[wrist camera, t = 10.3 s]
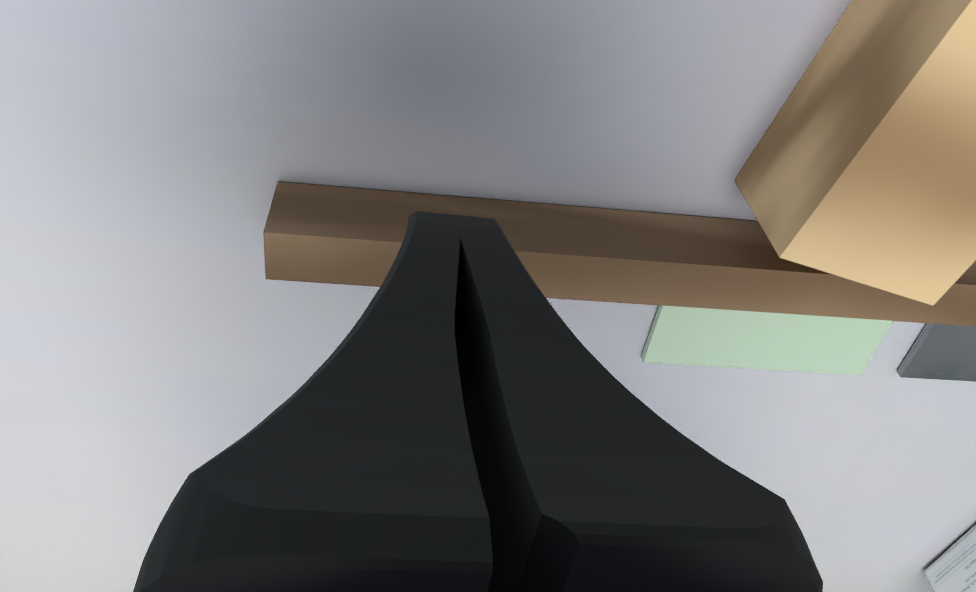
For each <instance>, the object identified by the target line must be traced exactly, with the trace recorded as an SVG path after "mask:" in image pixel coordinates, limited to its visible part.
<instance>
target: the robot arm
mask: <svg viewBox="0 0 976 592" xmlns="http://www.w3.org/2000/svg"><path fill="white" fill-rule="evenodd" d="M822 589H823V581H822V579H821V576H820V574H819V572H818V569H817V567H816V565H815V562H814V560H813V558H812V555H811V553H810V550H809V548H808V545H807V543H806V541H805V538H804V536H803V534H802V532H801V530H800V528H799V526H798V524H797V522H796V520H795V518H794V516H793V515H792V513H791V511H790V509H789V507H788V505H787V503H786V501H785V499H783V498H781V497H780V496H778V495H776V494H775V493H773V492H771V491H770V490H768V489H766V488H765V487H763V486H761V485H760V484H758V483H756V482H755V481H753V480H751V479H750V478H748V477H746V476H745V475H743V474H741V473H740V472H738V471H736V470H735V469H733V468H731V467H730V466H728V465H726V464H725V463H723V462H721V461H720V460H718V459H717V458H715V457H714V456H712V455H711V454H710V453H708V452H707V451H705V450H704V449H702V448H701V447H700V446H698V445H697V444H695V443H694V442H693V441H691V440H690V439H688V438H687V437H685V436H684V435H683V434H681V433H680V432H679V431H677V430H676V429H675V428H673V427H672V426H671V425H669V424H668V423H667V422H666V421H664V420H663V419H662V418H660V417H659V416H658V415H657V414H656V413H654V412H653V411H652V410H651V409H650V408H648V407H647V406H646V405H645V404H644V403H642V402H641V401H640V400H639V399H638V398H637V397H635V396H634V395H633V394H632V393H631V392H630V391H628V390H627V389H626V388H625V387H624V386H623V385H622V384H621V383H620V382H619V381H618V380H616V379H615V378H614V377H613V376H612V375H611V374H610V373H609V372H608V371H607V370H606V369H605V368H604V367H603V366H602V365H601V364H600V362H599V361H598V360H597V359H596V358H595V357H594V356H593V355H592V354H591V353H590V352H589V351H588V350H587V349H586V348H585V347H584V346H583V345H582V344H581V342H580V341H579V340H578V339H577V338H576V336H575V335H574V334H573V333H572V332H571V330H570V329H569V328H568V327H567V325H566V324H565V323H564V322H563V320H562V319H561V318H560V317H559V315H558V314H557V313H556V311H555V310H554V309H553V307H552V306H551V305H550V303H549V302H548V300H547V299H546V298H545V296H544V295H543V293H542V292H541V290H540V289H539V288H538V286H537V285H536V283H535V282H534V280H533V279H532V277H531V276H530V274H529V273H528V271H527V270H526V268H525V267H524V265H523V263H522V262H521V260H520V259H519V257H518V256H517V254H516V252H515V251H514V249H513V247H512V246H511V244H510V242H509V240H508V239H507V237H506V235H505V234H504V232H503V230H502V228H501V226H500V225H499V224H498V222H497V221H496V220H495V219H493V218H482V217H472V216H462V215H452V214H442V213H431V212H421V211H416V212H414V213H413V214H411V215H410V216H409V217H408V224H407V230H406V234H405V237H404V239H403V242H402V245H401V247H400V249H399V252H398V254H397V256H396V259H395V261H394V262H393V264H392V266H391V268H390V270H389V272H388V274H387V276H386V278H385V279H384V281H383V283H382V285H381V287H380V288H379V290H378V292H377V293H376V295H375V296H374V298H373V299H372V301H371V302H370V304H369V305H368V307H367V308H366V310H365V311H364V313H363V315H362V316H361V318H360V319H359V320H358V322H357V323H356V324H355V326H354V327H353V329H352V330H351V331H350V333H349V334H348V335H347V336H346V338H345V339H344V340H343V341H342V343H341V344H340V345H339V346H338V347H337V349H336V350H335V351H334V352H333V353H332V355H331V356H330V357H329V358H328V359H327V360H326V361H325V362H324V363H323V364H322V366H321V367H320V368H319V369H318V370H317V371H316V372H315V373H314V374H313V375H312V376H311V377H310V378H309V379H308V380H307V382H305V383H304V384H303V385H302V386H301V387H300V388H299V389H298V390H297V391H296V392H295V393H294V394H293V395H292V396H291V397H290V398H289V399H288V400H286V401H285V402H284V403H283V404H282V405H281V406H279V407H278V408H277V409H276V410H275V411H274V412H272V413H271V414H270V415H269V416H268V417H267V418H265V419H264V420H263V421H262V422H261V423H260V424H258V425H257V426H256V427H255V428H254V429H252V430H251V431H250V432H249V433H247V434H246V435H245V436H243V437H242V438H241V439H239V440H238V441H237V442H235V443H234V444H232V445H231V446H229V447H228V448H227V449H225V450H224V451H222V452H221V453H219V454H218V455H217V456H215V457H214V458H212V459H211V460H209V461H208V462H207V463H205V464H204V465H202V466H201V467H199V468H198V469H196V470H195V471H193V472H192V473H190V474H189V476H188V477H187V479H186V480H185V482H184V484H183V485H182V487H181V488H180V490H179V492H178V493H177V495H176V497H175V498H174V500H173V502H172V503H171V505H170V507H169V509H168V510H167V512H166V514H165V516H164V518H163V519H162V521H161V523H160V525H159V527H158V529H157V531H156V533H155V535H154V538H153V540H152V542H151V544H150V546H149V548H148V551H147V553H146V555H145V557H144V560H143V562H142V566H141V569H140V572H139V575H138V578H137V581H136V584H135V588H134V591H133V592H822Z"/></svg>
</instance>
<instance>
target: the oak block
mask: <svg viewBox="0 0 976 592" xmlns="http://www.w3.org/2000/svg"><path fill="white" fill-rule="evenodd" d="M734 181H735V182H736V184H737V186H738V187H739V189H740V191H741V192H742V194H743V196H744V198H745V199H746V201H747V203H748V204H749V206H750V208H751V210H752V211H753V213H754V215H755V216H756V218H757V220H758V222H759V223H760V225H761V227H762V228H763V230H764V232H765V234H766V235H767V237H768V239H769V240H770V242H771V244H772V246H773V247H774V249H775V251H776V252H777V254H778V256H779V258H783V259H786V260H789V261H792V262H795V263H798V264H802V265H805V266H808V267H811V268H814V269H818V270H821V271H824V272H827V273H830V274H834V275H837V276H840V277H843V278H846V279H850V280H853V281H856V282H859V283H862V284H866V285H869V286H872V287H875V288H878V289H881V290H885V291H888V292H891V293H894V294H897V295H901V296H904V297H907V298H910V299H913V300H917V301H920V302H923V303H926V304H929V305H934V304H935V303H936V302H937V301H938V300H939V299H940V298H941V297H942V296H943V295H944V294H945V293H946V292H947V290H948V289H949V288H950V287H951V286H952V285H953V284H954V283H955V282H956V281H957V280H958V279H959V278H960V277H961V275H962V274H963V273H964V272H965V271H966V270H967V269H968V268H969V267H970V266H971V265H972V264H973V263H974V262H975V260H976V0H852V1H851V3H850V4H849V6H848V7H847V9H846V10H845V12H844V13H843V15H842V16H841V18H840V19H839V21H838V23H837V24H836V26H835V27H834V29H833V30H832V32H831V33H830V35H829V36H828V38H827V39H826V41H825V42H824V44H823V45H822V47H821V49H820V50H819V52H818V53H817V55H816V56H815V58H814V59H813V61H812V62H811V64H810V65H809V67H808V68H807V70H806V71H805V73H804V75H803V76H802V78H801V79H800V81H799V82H798V84H797V85H796V87H795V88H794V90H793V91H792V93H791V94H790V96H789V97H788V99H787V100H786V102H785V104H784V105H783V107H782V108H781V110H780V111H779V113H778V114H777V116H776V117H775V119H774V120H773V122H772V123H771V125H770V126H769V128H768V130H767V131H766V133H765V134H764V136H763V137H762V139H761V140H760V142H759V143H758V145H757V146H756V148H755V149H754V151H753V152H752V154H751V156H750V157H749V159H748V160H747V162H746V163H745V165H744V166H743V168H742V169H741V171H740V172H739V174H738V175H737V177H736V178H735V180H734Z"/></svg>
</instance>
